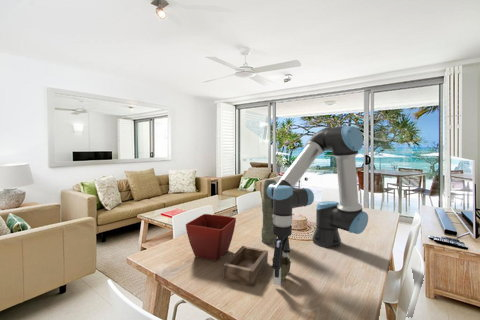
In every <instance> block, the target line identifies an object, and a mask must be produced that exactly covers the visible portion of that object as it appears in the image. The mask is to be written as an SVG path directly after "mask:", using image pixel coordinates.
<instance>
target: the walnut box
mask: <svg viewBox="0 0 480 320" xmlns="http://www.w3.org/2000/svg"><path fill="white" fill-rule="evenodd" d="M268 252H269V251H268V250H267V249H260V248H256V247H250V246H246V245H242V246H241V247H239V248H238V250H237V251H236V252H235V253H234V254H233V255H232V256H230V258H228V260H227V261H225V263H224V264H223V280H225V281H229V282H233V283H237V284H240V285H245V286H248V287H254V285H255V284H256V282H257V281H258V280H259V278H260V276H261V275H262V273H263V272H264V269H265V268H266V267H267V265H268V264H269V263H268V262H269V261H268V260H269V259H268V254H269V253H268Z"/></svg>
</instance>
